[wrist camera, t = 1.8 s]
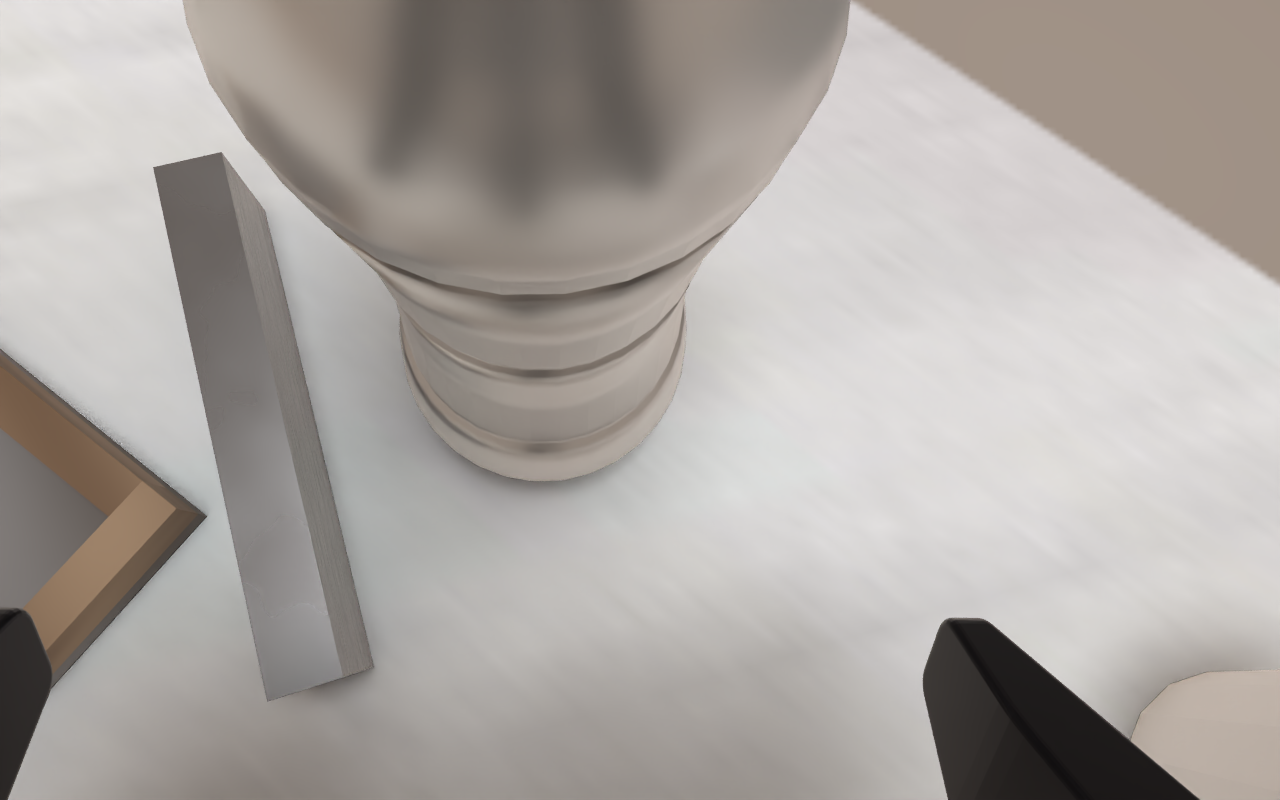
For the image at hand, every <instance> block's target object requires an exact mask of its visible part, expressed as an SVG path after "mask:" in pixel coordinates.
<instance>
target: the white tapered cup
mask: <svg viewBox="0 0 1280 800" xmlns="http://www.w3.org/2000/svg"><path fill="white" fill-rule="evenodd" d="M1130 741H1131V742H1132V743H1134V744H1135V745H1136V746H1137V747H1138V748H1140V749H1141V750H1142V751H1143V752H1144V753H1145V754H1147V755H1148V756H1149V757H1150V758H1151V759H1153V760H1154V761H1155V762H1156V763H1157V764H1158V765H1160V766H1161V767H1162V768H1163V769H1164V770H1166V771H1167V772H1168V773H1169V774H1170V775H1172V776H1173V777H1174V778H1175V779H1176V780H1177V781H1179V782H1180V783H1181V784H1182V785H1183V786H1185V787H1186V788H1187V789H1188V790H1189V791H1191V792H1192V793H1193V794H1194V795H1195V796H1196V797H1198V798H1199V799H1200V800H1280V670H1254V671H1221V672H1205V673H1202V674H1199V675H1196V676H1193V677H1190V678H1187V679H1184V680H1181V681H1178V682H1175V683H1172V684H1169V685H1168V686H1167V687H1166V688H1165V689H1164V690H1163V691H1162V692H1161V693H1160V694H1159V695H1158V696H1157V697H1156V698H1155V699H1154V700H1153V701H1152V702H1151V703H1150V704H1149V705H1148V706H1147V707H1146V708H1145V709H1144V710H1143V711H1142V712H1141V713H1140V716H1139V719H1138V721H1137V724H1136V727H1135V729H1134V732H1133V735H1132V737H1131V740H1130Z"/></svg>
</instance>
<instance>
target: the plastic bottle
mask: <svg viewBox="0 0 1280 800" xmlns="http://www.w3.org/2000/svg"><path fill="white" fill-rule="evenodd" d="M183 5H184V11H185V16H186V22H187V25H188V28H189V31H190V33H191V36H192V38H193V41H194V44H195V46H196V49H197V52H198V54H199V57H200V60H201V62H202V65H203V67H204V70H205V73H206V75H207V78H208V81H209V83H210V85H211V86H212V88H213V89H214V91H215V92H216V94H217V95H218V97H219V98H220V100H221V101H222V103H223V104H224V106H225V108H226V109H227V111H228V112H229V114H230V115H231V117H232V118H233V120H234V121H235V123H236V124H237V126H238V127H239V129H240V130H241V132H242V133H243V135H244V136H245V138H246V139H247V140H248V142H249V143H250V144H251V145H252V146H253V147H254V149H255V150H256V151H257V152H258V153H259V154H260V156H261V157H262V158H263V159H264V160H265V162H266V163H267V164H268V165H269V167H270V168H271V169H272V171H273V172H274V173H275V174H276V176H277V177H278V178H279V180H280V181H281V182H282V183H283V184H284V185H285V186H286V187H287V188H288V189H289V190H290V191H291V192H292V193H293V194H294V195H295V196H296V197H297V198H298V199H299V200H300V201H301V202H302V203H303V204H304V205H305V206H306V207H307V208H308V209H309V210H310V211H311V212H312V213H313V214H314V215H315V216H316V217H317V218H319V219H320V220H321V221H322V222H323V223H324V224H325V225H326V226H327V227H329V228H330V229H331V230H332V231H333V232H334V233H335V234H336V235H337V236H338V237H339V238H341V239H342V240H343V241H344V242H345V243H346V244H347V245H348V246H349V247H350V248H351V249H352V250H353V251H354V252H355V253H356V254H358V255H359V256H360V257H361V258H362V259H363V260H364V261H365V262H366V263H367V264H368V265H369V266H370V267H371V268H372V269H373V270H374V271H376V272H377V274H378V275H379V277H380V278H381V280H382V281H383V283H384V284H385V286H386V287H387V289H388V290H389V291H390V293H391V294H392V296H393V297H394V299H395V300H396V303H397V306H398V310H399V314H400V324H399V335H400V341H401V347H402V353H403V359H404V364H405V370H406V376H407V381H408V383H409V386H410V388H411V391H412V393H413V396H414V398H415V401H416V403H417V406H418V407H419V409H420V410H421V412H422V413H423V415H424V416H425V418H426V419H427V421H428V422H429V424H430V425H431V427H432V429H433V430H434V431H435V432H436V433H437V434H438V435H439V436H440V437H441V438H442V439H443V440H444V441H445V442H446V443H447V444H448V445H449V446H450V447H451V448H452V449H453V450H454V451H456V452H457V453H459V454H460V455H462V456H463V457H465V458H467V459H468V460H470V461H471V462H473V463H474V464H476V465H477V466H479V467H482V468H484V469H487V470H490V471H492V472H495V473H497V474H500V475H502V476H505V477H511V478H517V479H522V480H528V481H560V480H566V479H570V478H574V477H579V476H583V475H587V474H591V473H593V472H595V471H597V470H599V469H601V468H604V467H606V466H608V465H610V464H612V463H614V462H616V461H618V460H619V459H620V458H622V457H623V456H625V455H626V454H627V453H629V452H630V451H631V450H633V449H634V448H635V447H637V446H638V445H639V444H640V443H641V442H642V441H643V440H644V439H645V438H646V437H647V435H648V434H649V433H650V432H651V431H652V430H653V429H654V428H655V427H656V426H657V424H658V423H659V421H660V420H661V418H662V416H663V415H664V413H665V411H666V410H667V408H668V406H669V405H670V403H671V401H672V399H673V396H674V393H675V391H676V388H677V385H678V382H679V379H680V377H681V373H682V366H683V359H684V353H685V344H686V309H685V294H686V290H687V288H688V287H689V284H690V282H691V280H692V278H693V277H694V275H695V274H696V272H697V270H698V268H699V266H700V264H701V263H702V261H703V259H704V258H705V257H706V256H707V254H708V253H709V252H710V251H711V250H712V249H713V247H714V246H715V245H716V244H717V243H718V242H719V240H720V239H721V238H722V237H723V236H724V235H725V233H726V232H727V231H728V230H729V229H730V228H731V227H732V225H733V224H734V223H735V222H736V221H737V220H738V218H739V217H740V216H741V215H742V214H743V213H744V211H745V210H746V209H747V208H748V207H749V206H750V205H751V203H752V202H753V201H754V200H755V199H756V198H757V196H758V195H759V194H760V193H761V192H762V191H763V190H764V189H765V188H766V187H767V186H768V185H769V184H770V182H771V180H772V179H773V177H774V176H775V174H776V172H777V171H778V169H779V167H780V166H781V164H782V163H783V161H784V160H785V158H786V157H787V155H788V154H789V152H790V151H791V149H792V148H793V146H794V145H795V143H796V142H797V140H798V139H799V137H800V135H801V134H802V132H803V130H804V129H805V127H806V126H807V124H808V122H809V121H810V119H811V117H812V116H813V114H814V112H815V111H816V109H817V107H818V106H819V104H820V103H821V101H822V99H823V98H824V96H825V94H826V93H827V91H828V88H829V85H830V83H831V80H832V77H833V74H834V71H835V68H836V65H837V62H838V59H839V56H840V53H841V50H842V47H843V44H844V41H845V38H846V35H847V26H848V17H849V8H850V0H183Z"/></svg>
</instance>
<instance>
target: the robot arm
mask: <svg viewBox="0 0 1280 800" xmlns="http://www.w3.org/2000/svg"><path fill="white" fill-rule="evenodd" d="M52 676H53V674H52V666H51V662H50V660H49V657H48V655H47V653H46V650H45V648H44V645H43V643H42V640H41V638H40V636H39V633H38V631H37V628H36V626H35V624H34V621H33V619H32V617H31V615H30V614H29V613H28V612H27V611H25V610H24V609H21V608H9V607H0V800H8V797H9V795H10V792H11V789H12V787H13V784H14V782H15V779H16V777H17V774H18V772H19V769H20V767H21V764H22V761H23V759H24V756H25V754H26V751H27V749H28V746H29V744H30V741H31V738H32V736H33V733H34V731H35V728H36V726H37V723H38V721H39V718H40V715H41V713H42V710H43V708H44V705H45V703H46V700H47V698H48V695H49V692H50V689H51V684H52ZM923 692H924V697H925V701H926V706H927V710H928V714H929V719H930V723H931V727H932V732H933V736H934V740H935V745H936V749H937V754H938V758H939V762H940V767H941V771H942V775H943V780H944V784H945V788H946V793H947V797H948V800H1200V799H1199V798H1198V797H1196V796H1195V795H1194V794H1193V793H1192V792H1191V791H1189V790H1188V789H1187V788H1186V787H1185V786H1183V785H1182V784H1181V783H1180V782H1179V781H1177V780H1176V779H1175V778H1174V777H1173V776H1172V775H1170V774H1169V773H1168V772H1167V771H1166V770H1164V769H1163V768H1162V767H1161V766H1160V765H1158V764H1157V763H1156V762H1155V761H1154V760H1153V759H1151V758H1150V757H1149V756H1148V755H1147V754H1145V753H1144V752H1143V751H1142V750H1141V749H1140V748H1138V747H1137V746H1136V745H1135V744H1134V743H1132V742H1131V741H1130V740H1129V739H1128V738H1126V737H1125V736H1124V735H1123V734H1122V733H1121V732H1119V731H1118V730H1117V729H1116V728H1115V727H1113V726H1112V725H1111V724H1110V723H1109V722H1107V721H1106V720H1105V719H1104V718H1103V717H1102V716H1100V715H1099V714H1098V713H1097V712H1096V711H1094V710H1093V709H1092V708H1091V707H1090V706H1088V705H1087V704H1086V703H1085V702H1084V701H1083V700H1081V699H1080V698H1079V697H1078V696H1077V695H1075V694H1074V693H1073V692H1072V691H1071V690H1070V689H1068V688H1067V687H1066V686H1065V685H1064V684H1062V683H1061V682H1060V681H1059V680H1058V679H1056V678H1055V677H1054V676H1053V675H1052V674H1051V673H1049V672H1048V671H1047V670H1046V669H1045V668H1043V667H1042V666H1041V665H1040V664H1039V663H1037V662H1036V661H1035V660H1034V659H1033V658H1032V657H1030V656H1029V655H1028V654H1027V653H1026V652H1024V651H1023V650H1022V649H1021V648H1020V647H1018V646H1017V645H1016V644H1015V643H1014V642H1013V641H1011V640H1010V639H1009V638H1008V637H1007V636H1005V635H1004V634H1003V633H1002V632H1001V631H1000V630H998V629H997V628H996V627H995V626H994V625H992V624H991V623H990V622H988V621H986V620H984V619H981V618H948V619H946V620H944V621H943V622H942V623H941V625H940V627H939V630H938V632H937V635H936V638H935V641H934V644H933V647H932V649H931V652H930V655H929V658H928V661H927V663H926V666H925V669H924V674H923Z"/></svg>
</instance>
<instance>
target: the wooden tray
mask: <svg viewBox="0 0 1280 800" xmlns="http://www.w3.org/2000/svg"><path fill="white" fill-rule="evenodd" d="M205 518H206V515H205V514H203V513H202V512H201V511H200V510H198V509H197V508H196V507H195V506H193V505H192V504H191V503H190V502H189V501H187V500H186V499H185V498H184V497H182V496H181V495H180V494H179V493H177V492H176V491H175V490H174V489H172V488H171V487H170V486H169V485H168V484H166V483H165V482H164V481H163V480H161V479H160V478H159V477H158V476H156V475H155V474H154V473H153V472H151V471H150V470H149V469H148V468H146V467H145V466H144V465H143V464H142V463H140V462H139V461H138V460H137V459H135V458H134V457H133V456H132V455H130V454H129V453H128V452H127V451H125V450H124V449H123V448H122V447H121V446H119V445H118V444H117V443H116V442H114V441H113V440H112V439H111V438H109V437H108V436H107V435H106V434H104V433H103V432H102V431H101V430H99V429H98V428H97V427H96V426H95V425H93V424H92V423H91V422H90V421H88V420H87V419H86V418H85V417H83V416H82V415H81V414H80V413H78V412H77V411H76V410H75V409H74V408H72V407H71V406H70V405H69V404H67V403H66V402H65V401H64V400H62V399H61V398H60V397H59V396H57V395H56V394H55V393H54V392H52V391H51V390H50V389H49V388H48V387H46V386H45V385H44V384H43V383H41V382H40V381H39V380H38V379H36V378H35V377H34V376H33V375H31V374H30V373H29V372H28V371H27V370H25V369H24V368H23V367H22V366H20V365H19V364H18V363H17V362H15V361H14V360H13V359H12V358H10V357H9V356H8V355H7V354H6V353H4V352H3V351H2V350H1V349H0V607H9V608H21V609H24V610H25V611H27V612H28V613H29V614H30V615H31V617H32V619H33V621H34V624H35V626H36V628H37V631H38V633H39V636H40V638H41V640H42V643H43V645H44V648H45V650H46V653H47V655H48V657H49V660H50V662H51V666H52V674H53V676H52V684H51V688H52V687H53V685H54V684H55V683H56V682H57V681H58V680H59V679H60V678H61V677H62V676H63V674H64V673H65V672H66V671H67V670H68V669H69V668H70V667H71V666H72V664H73V663H74V662H75V661H76V660H77V659H78V658H79V657H80V656H81V655H82V653H83V652H84V651H85V650H86V649H87V648H88V647H89V646H90V645H91V643H92V642H93V641H94V640H95V639H96V638H97V637H98V636H99V635H100V634H101V632H102V631H103V630H104V629H105V628H106V627H107V626H108V625H109V624H110V622H111V621H112V620H113V619H114V618H115V617H116V616H117V615H118V614H119V613H120V611H121V610H122V609H123V608H124V607H125V606H126V605H127V604H128V603H129V601H130V600H131V599H132V598H133V597H134V596H135V595H136V594H137V593H138V592H139V590H140V589H141V588H142V587H143V586H144V585H145V584H146V583H147V582H148V581H149V579H150V578H151V577H152V576H153V575H154V574H155V573H156V572H157V571H158V569H159V568H160V567H161V566H162V565H163V564H164V563H165V562H166V561H167V560H168V558H169V557H170V556H171V555H172V554H173V553H174V552H175V551H176V550H177V548H178V547H179V546H180V545H181V544H182V543H183V542H184V541H185V540H186V539H187V537H188V536H189V535H190V534H191V533H192V532H193V531H194V530H195V529H196V527H197V526H198V525H199V524H200V523H201V522H202V521H203V520H204V519H205Z"/></svg>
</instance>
